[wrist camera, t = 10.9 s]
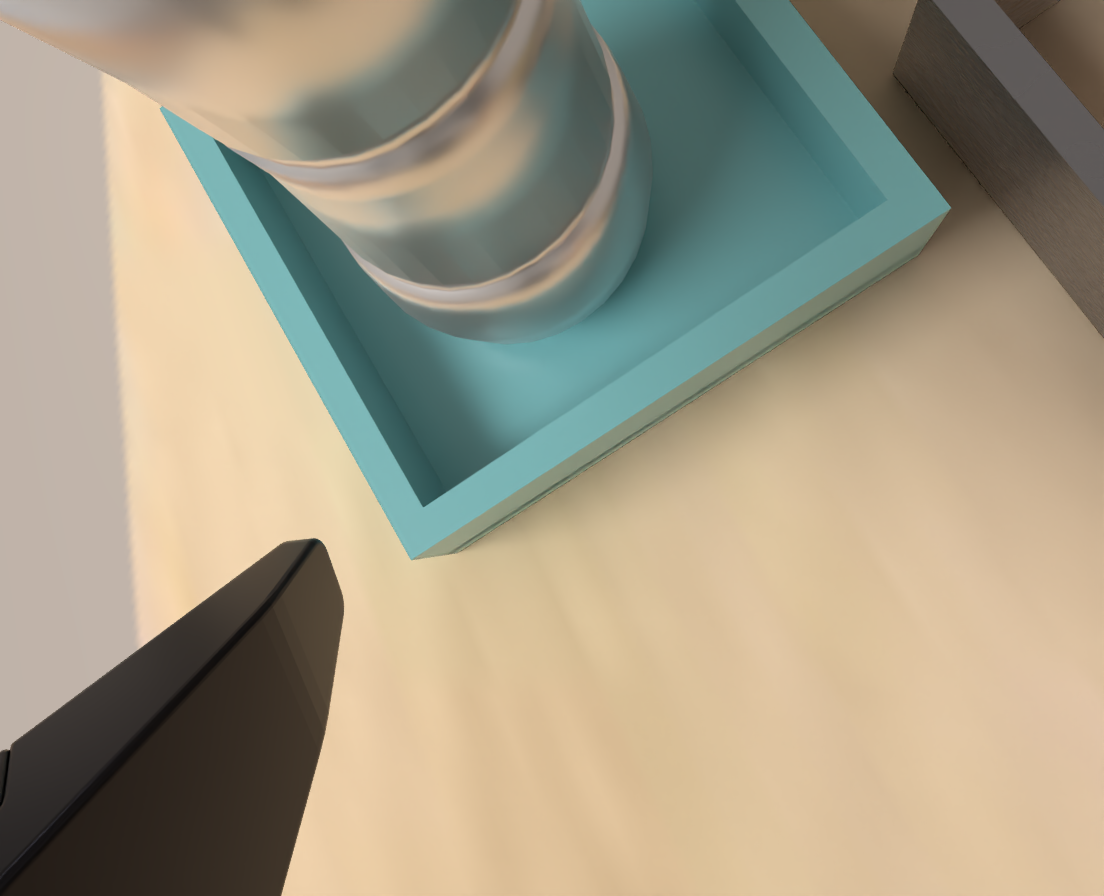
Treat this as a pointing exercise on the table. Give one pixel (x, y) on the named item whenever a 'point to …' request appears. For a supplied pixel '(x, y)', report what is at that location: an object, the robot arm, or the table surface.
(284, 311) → the tray
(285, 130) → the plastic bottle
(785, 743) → the table surface
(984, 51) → the open frame
